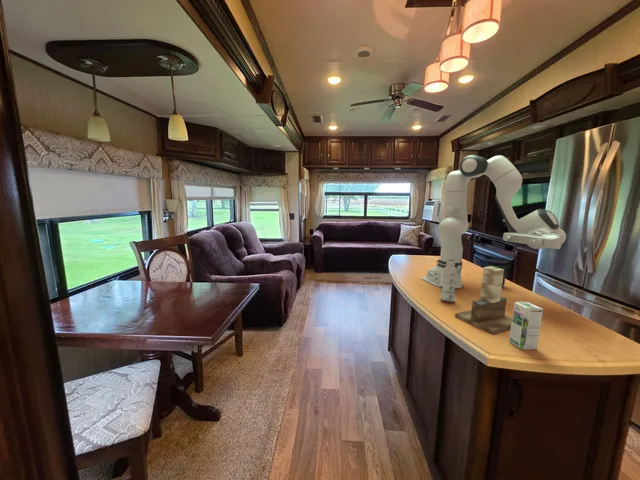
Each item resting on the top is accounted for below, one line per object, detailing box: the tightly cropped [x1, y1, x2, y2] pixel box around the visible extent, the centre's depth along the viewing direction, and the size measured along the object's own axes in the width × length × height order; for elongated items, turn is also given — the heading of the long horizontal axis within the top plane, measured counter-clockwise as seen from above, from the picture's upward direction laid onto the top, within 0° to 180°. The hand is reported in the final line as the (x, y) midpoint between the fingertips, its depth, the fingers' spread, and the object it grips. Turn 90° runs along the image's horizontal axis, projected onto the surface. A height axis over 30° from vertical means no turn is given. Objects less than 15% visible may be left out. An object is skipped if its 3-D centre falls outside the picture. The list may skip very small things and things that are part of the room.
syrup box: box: [508, 301, 544, 351], centre depth 91 cm, size 6×6×14 cm
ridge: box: [454, 296, 512, 335], centre depth 110 cm, size 16×18×9 cm
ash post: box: [479, 266, 504, 303], centre depth 108 cm, size 5×5×13 cm
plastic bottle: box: [440, 260, 458, 303], centre depth 130 cm, size 6×7×20 cm
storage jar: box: [485, 258, 508, 290], centre depth 154 cm, size 10×10×15 cm
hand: (519, 240), depth 115 cm, fingers open, 8 cm apart
